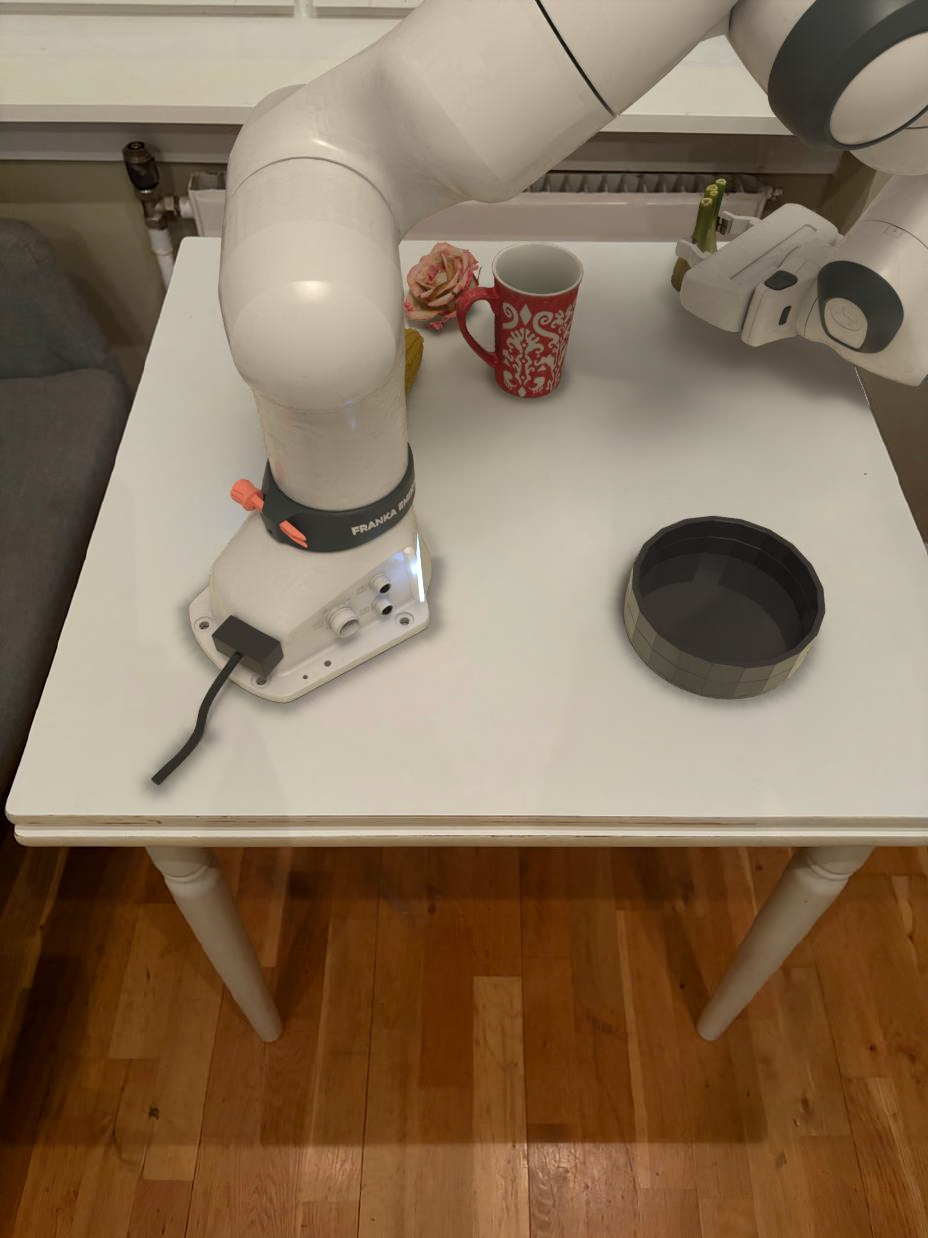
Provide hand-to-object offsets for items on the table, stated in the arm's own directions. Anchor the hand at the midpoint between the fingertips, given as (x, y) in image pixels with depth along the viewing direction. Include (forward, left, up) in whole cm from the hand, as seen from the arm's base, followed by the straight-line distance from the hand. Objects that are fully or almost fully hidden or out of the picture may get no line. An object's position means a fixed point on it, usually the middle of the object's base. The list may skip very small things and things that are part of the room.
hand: (698, 231), depth 104 cm
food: (-38, +11, -9) cm, 41 cm away
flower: (-22, +18, -9) cm, 30 cm away
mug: (-24, +5, -9) cm, 26 cm away
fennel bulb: (0, -1, -7) cm, 7 cm away
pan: (-35, -30, -9) cm, 47 cm away
